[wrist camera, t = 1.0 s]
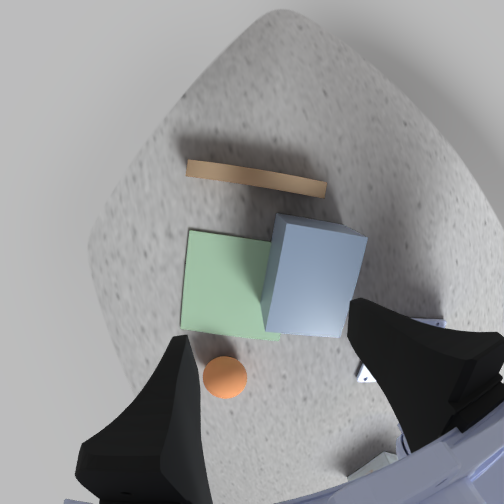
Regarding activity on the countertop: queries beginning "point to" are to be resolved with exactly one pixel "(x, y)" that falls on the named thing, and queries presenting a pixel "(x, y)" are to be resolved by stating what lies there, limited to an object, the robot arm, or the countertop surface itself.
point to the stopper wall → (256, 178)
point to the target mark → (225, 285)
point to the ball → (224, 377)
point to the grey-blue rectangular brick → (310, 276)
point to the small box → (374, 465)
